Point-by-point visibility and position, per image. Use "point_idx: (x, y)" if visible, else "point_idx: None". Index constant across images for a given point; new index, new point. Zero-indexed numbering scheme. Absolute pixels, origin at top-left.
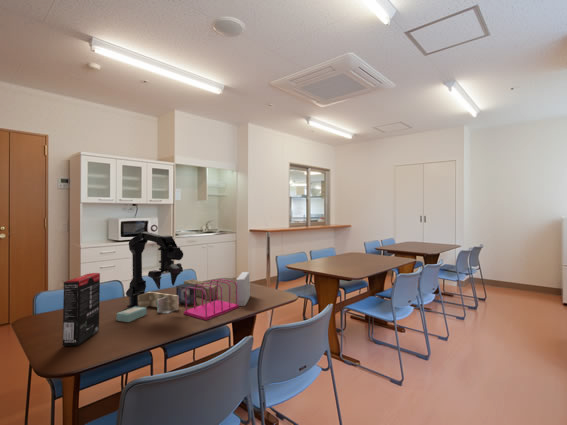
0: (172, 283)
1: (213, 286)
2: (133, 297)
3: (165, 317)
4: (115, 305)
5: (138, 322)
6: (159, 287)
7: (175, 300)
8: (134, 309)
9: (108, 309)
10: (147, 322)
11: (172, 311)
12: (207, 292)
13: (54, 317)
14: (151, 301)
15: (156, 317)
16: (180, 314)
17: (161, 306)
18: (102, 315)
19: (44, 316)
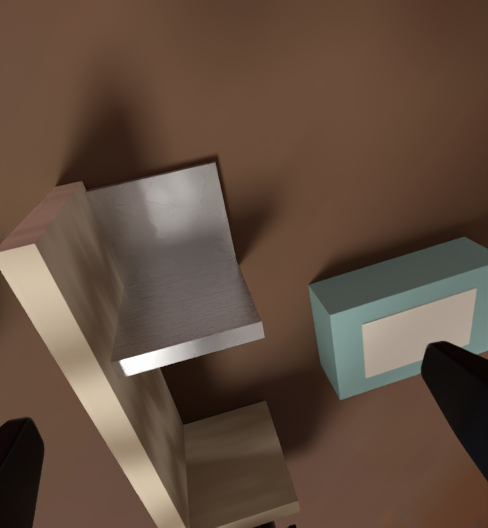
0: (26, 486)
1: None
2: (270, 524)
3: (283, 82)
4: (286, 519)
5: (452, 175)
6: (474, 359)
7: (65, 238)
8: (399, 339)
9: (342, 486)
10: (435, 110)
11: (140, 177)
12: None
13: (483, 500)
14: (179, 444)
15: (320, 160)
16: (130, 8)
17: (206, 286)
18: (416, 429)
19: (482, 522)
